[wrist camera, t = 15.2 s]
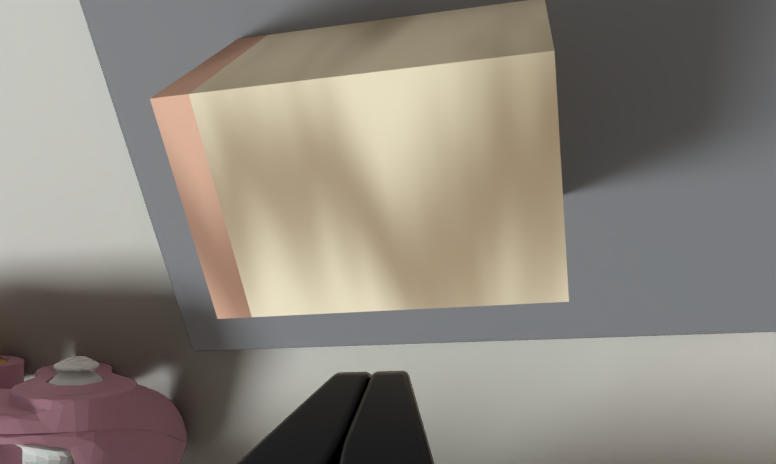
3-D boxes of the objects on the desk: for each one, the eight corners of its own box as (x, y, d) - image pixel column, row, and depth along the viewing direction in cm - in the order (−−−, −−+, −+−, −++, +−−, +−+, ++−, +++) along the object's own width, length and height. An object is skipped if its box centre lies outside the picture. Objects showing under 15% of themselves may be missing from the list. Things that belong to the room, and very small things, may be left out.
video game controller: (203, 337, 26) (92, 379, 19) (199, 468, 26) (87, 557, 19) (-50, 322, 27) (-240, 355, 20) (-54, 445, 27) (-244, 520, 20)
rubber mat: (811, 319, 20) (817, 330, 20) (199, 341, 24) (193, 351, 23) (904, -437, 13) (918, -447, 13) (14, -239, 17) (1, -241, 16)
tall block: (568, 301, 15) (217, 318, 16) (556, 196, 19) (281, 218, 20) (554, 50, 12) (149, 99, 14) (544, -3, 17) (237, 39, 18)
